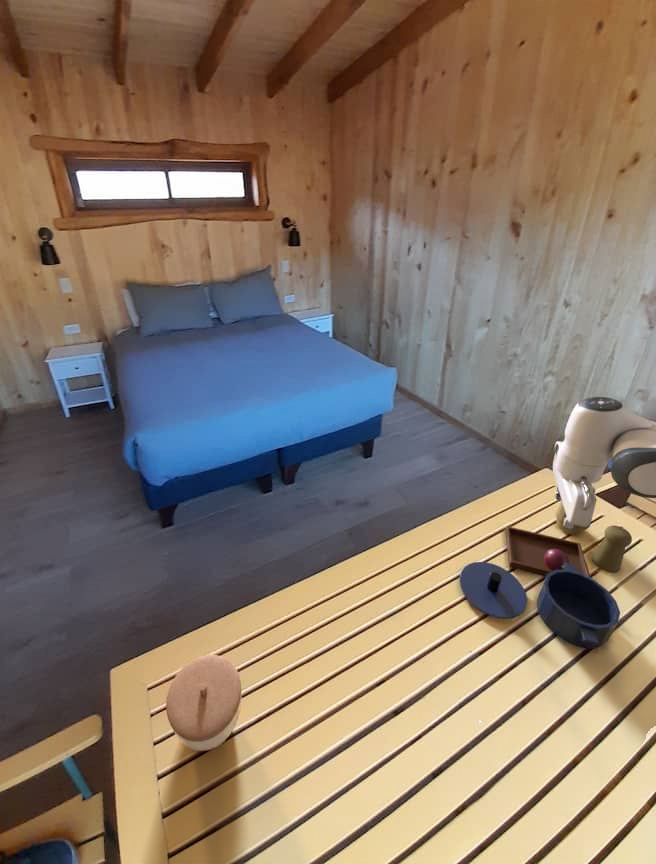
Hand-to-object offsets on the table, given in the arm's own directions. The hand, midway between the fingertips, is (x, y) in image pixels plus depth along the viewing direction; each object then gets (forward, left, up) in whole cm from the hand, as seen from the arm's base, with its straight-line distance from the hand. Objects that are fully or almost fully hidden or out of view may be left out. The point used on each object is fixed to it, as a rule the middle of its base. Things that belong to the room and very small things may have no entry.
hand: (562, 511), depth 95 cm
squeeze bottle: (-8, -14, -16) cm, 22 cm away
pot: (-3, +15, -16) cm, 22 cm away
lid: (+13, +14, -15) cm, 25 cm away
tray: (0, 0, -16) cm, 16 cm away
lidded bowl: (+62, +59, -16) cm, 88 cm away
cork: (-14, -4, -16) cm, 21 cm away
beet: (-1, +1, -14) cm, 14 cm away
